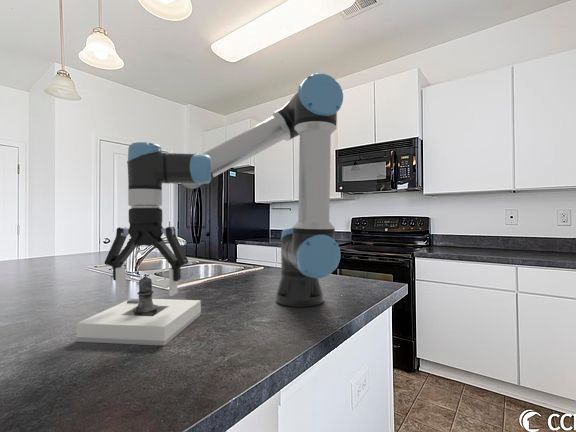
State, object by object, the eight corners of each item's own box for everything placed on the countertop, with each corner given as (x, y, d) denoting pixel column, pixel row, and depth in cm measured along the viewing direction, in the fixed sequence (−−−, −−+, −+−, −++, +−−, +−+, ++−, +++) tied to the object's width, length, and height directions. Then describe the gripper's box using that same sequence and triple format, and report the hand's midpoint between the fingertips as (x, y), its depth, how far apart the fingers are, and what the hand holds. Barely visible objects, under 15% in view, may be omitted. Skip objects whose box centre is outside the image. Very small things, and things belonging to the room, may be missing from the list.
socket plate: (200, 314, 85) (200, 298, 85) (164, 345, 66) (164, 323, 66) (131, 312, 88) (131, 296, 87) (76, 341, 68) (76, 320, 68)
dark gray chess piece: (148, 327, 73) (148, 276, 73) (126, 325, 74) (126, 275, 74) (163, 319, 79) (163, 272, 79) (143, 317, 80) (142, 271, 80)
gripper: (200, 207, 79) (201, 290, 79) (108, 208, 81) (109, 289, 82) (188, 206, 71) (189, 299, 72) (87, 207, 74) (88, 297, 74)
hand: (147, 294), depth 77 cm, fingers open, 13 cm apart
